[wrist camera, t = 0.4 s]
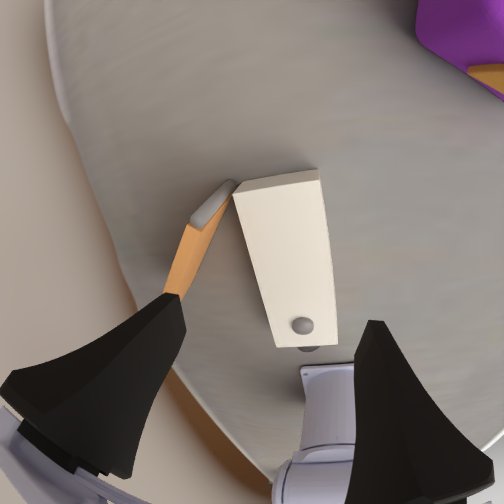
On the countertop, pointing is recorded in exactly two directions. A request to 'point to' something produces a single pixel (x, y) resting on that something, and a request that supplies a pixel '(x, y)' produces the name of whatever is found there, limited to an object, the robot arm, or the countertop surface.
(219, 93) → the countertop surface
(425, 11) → the toy camera
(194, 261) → the side door
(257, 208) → the cream tapered panel
